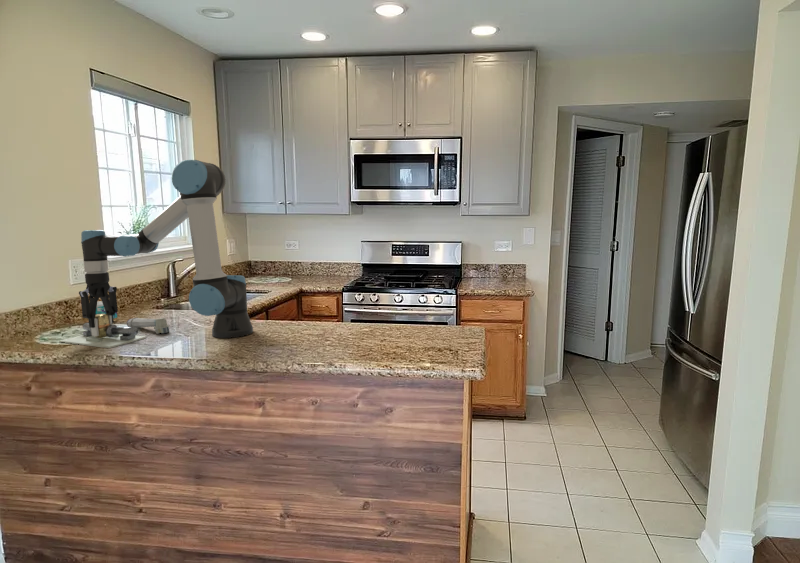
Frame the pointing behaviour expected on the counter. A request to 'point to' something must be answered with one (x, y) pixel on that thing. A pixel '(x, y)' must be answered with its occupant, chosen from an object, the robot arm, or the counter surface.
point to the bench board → (100, 341)
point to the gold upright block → (102, 324)
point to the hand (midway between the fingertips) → (102, 333)
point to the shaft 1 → (88, 332)
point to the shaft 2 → (121, 332)
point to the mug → (102, 309)
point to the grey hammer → (150, 324)
